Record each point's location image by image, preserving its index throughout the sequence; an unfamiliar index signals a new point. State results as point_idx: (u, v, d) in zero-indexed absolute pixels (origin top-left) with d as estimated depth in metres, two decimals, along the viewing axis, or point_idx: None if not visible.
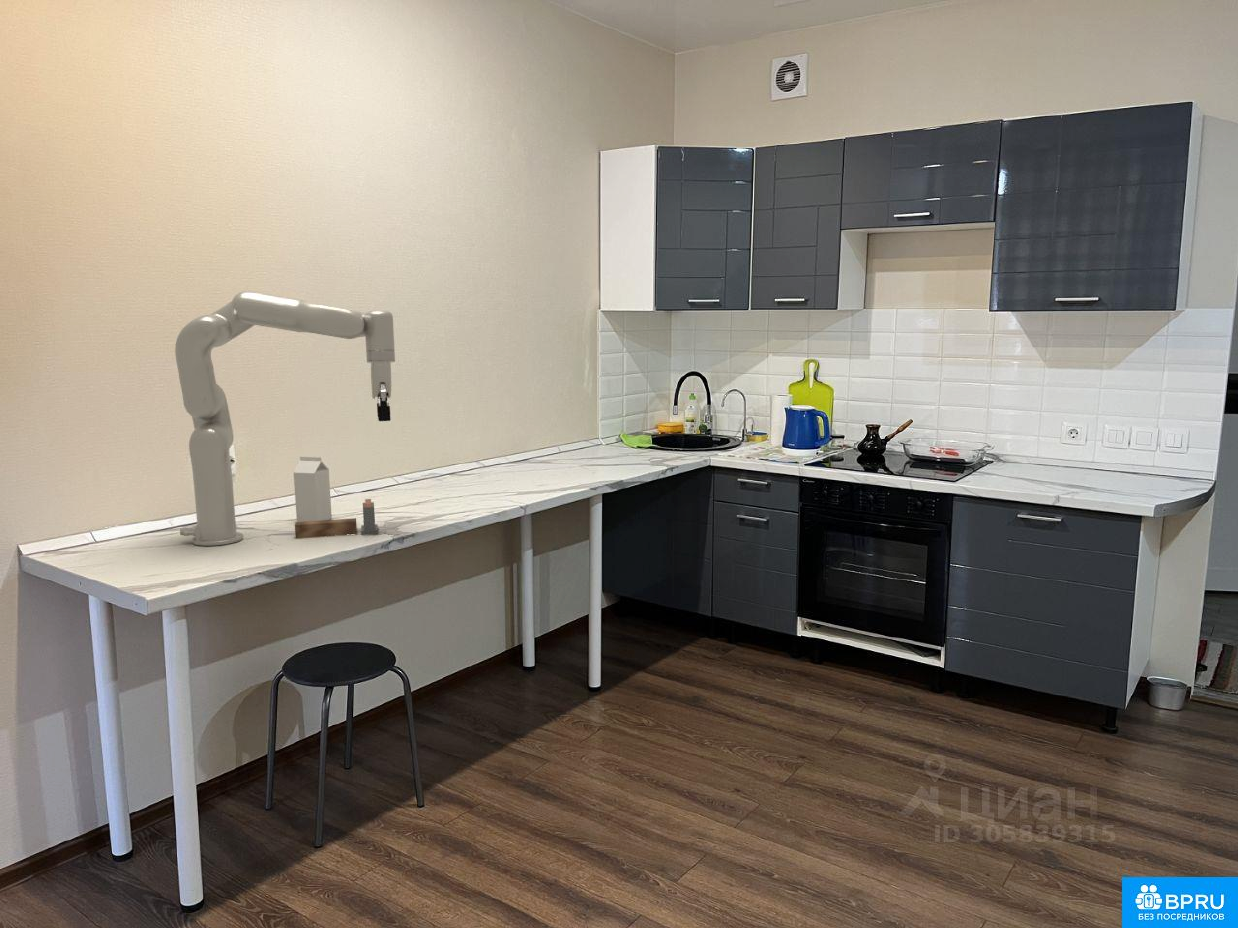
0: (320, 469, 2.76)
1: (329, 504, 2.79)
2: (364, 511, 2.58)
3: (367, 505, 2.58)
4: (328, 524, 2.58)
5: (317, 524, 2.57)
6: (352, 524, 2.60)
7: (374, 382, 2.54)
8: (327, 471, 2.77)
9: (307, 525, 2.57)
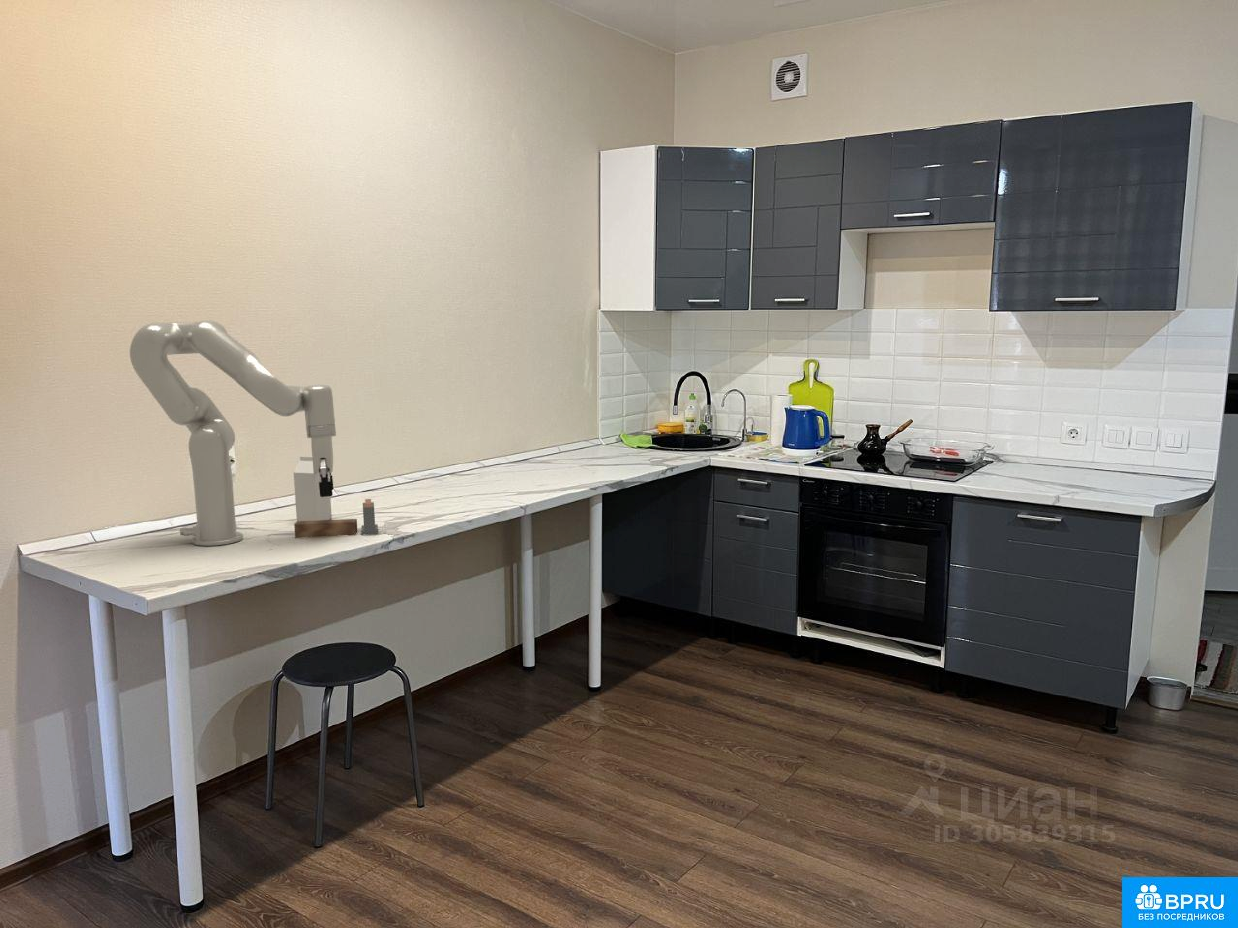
0: None
1: (329, 504, 2.79)
2: (364, 511, 2.58)
3: (367, 505, 2.58)
4: (327, 524, 2.58)
5: (316, 524, 2.57)
6: (351, 525, 2.59)
7: (314, 458, 2.52)
8: None
9: (306, 525, 2.57)
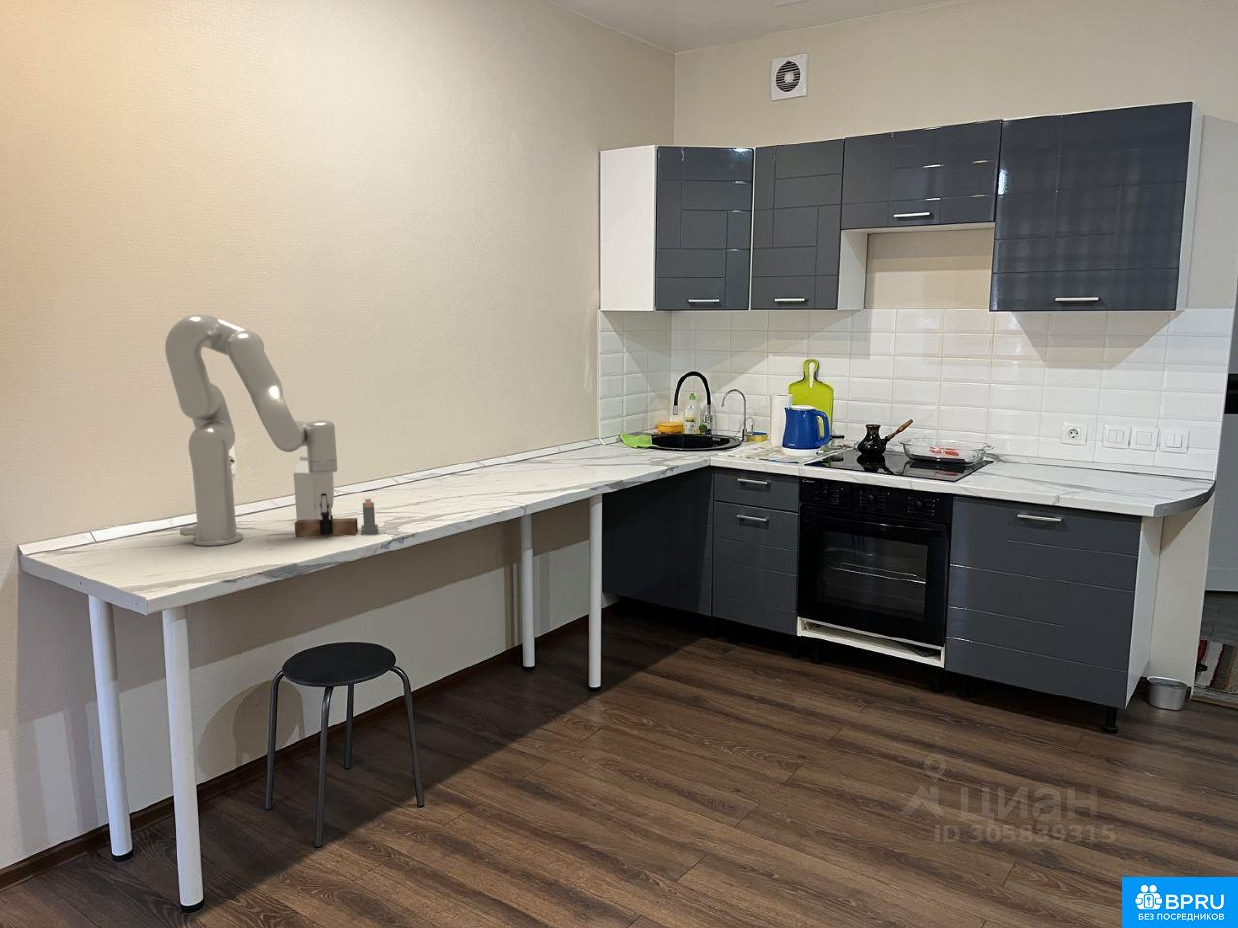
0: None
1: None
2: (364, 511, 2.58)
3: (367, 505, 2.58)
4: None
5: (316, 523, 2.57)
6: (351, 524, 2.58)
7: (315, 494, 2.53)
8: None
9: (306, 523, 2.57)
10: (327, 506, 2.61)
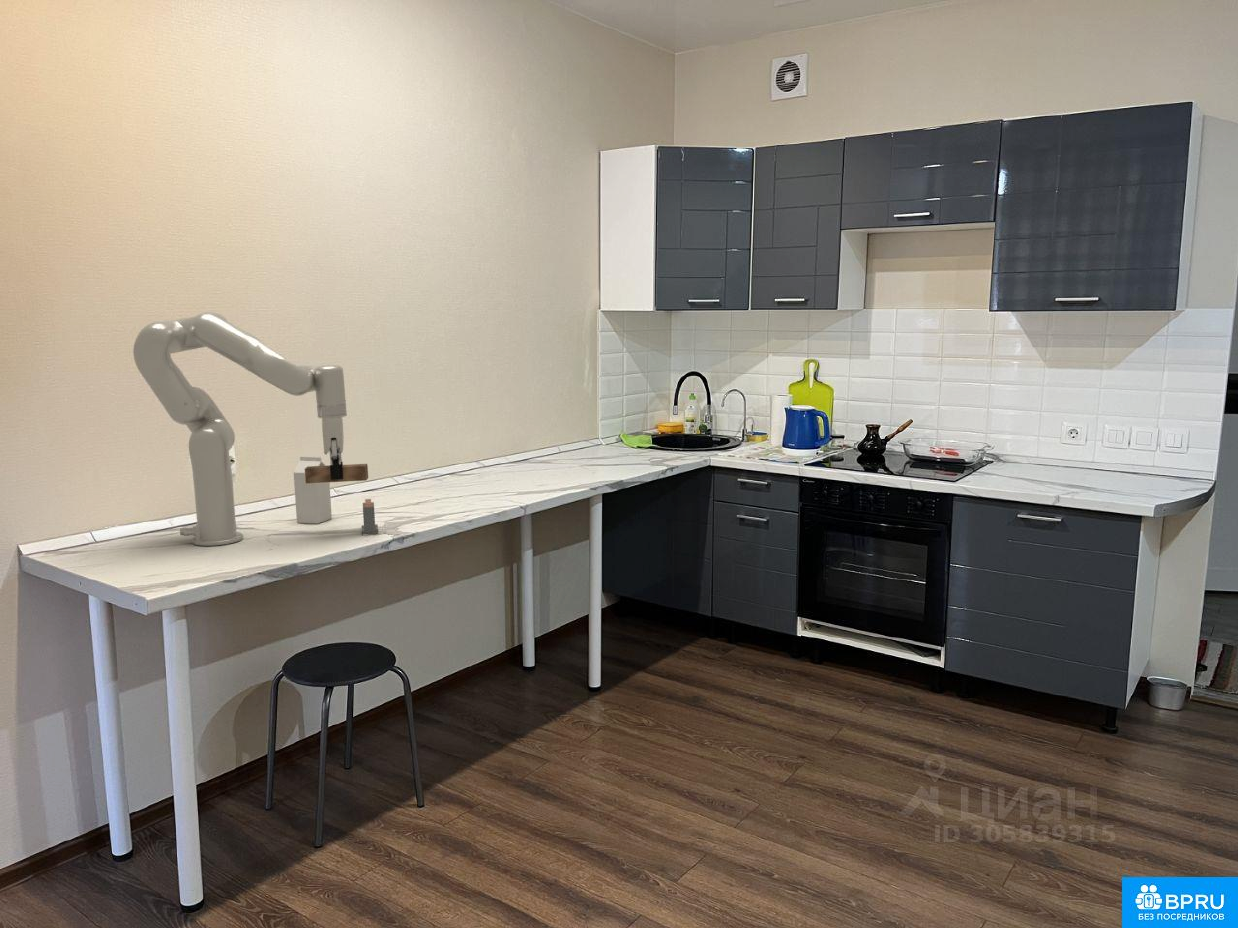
0: None
1: (329, 504, 2.79)
2: (364, 511, 2.58)
3: (367, 505, 2.58)
4: None
5: (327, 468, 2.56)
6: (361, 469, 2.57)
7: (325, 438, 2.52)
8: None
9: (317, 469, 2.56)
10: (337, 452, 2.60)
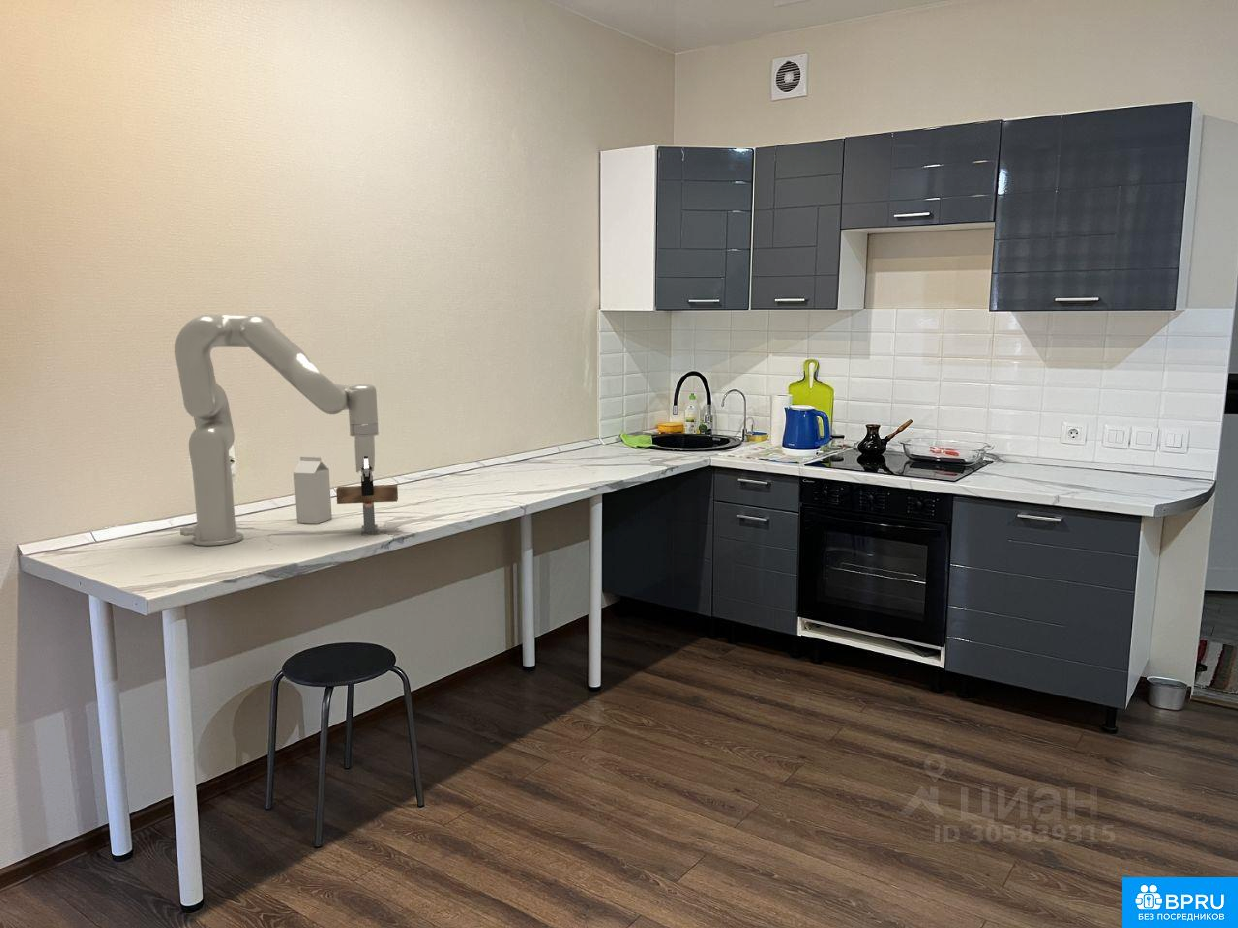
0: (320, 469, 2.76)
1: (329, 504, 2.79)
2: (364, 511, 2.58)
3: (367, 505, 2.58)
4: None
5: (358, 489, 2.59)
6: (392, 490, 2.60)
7: (357, 456, 2.54)
8: (327, 471, 2.77)
9: (348, 490, 2.59)
10: None
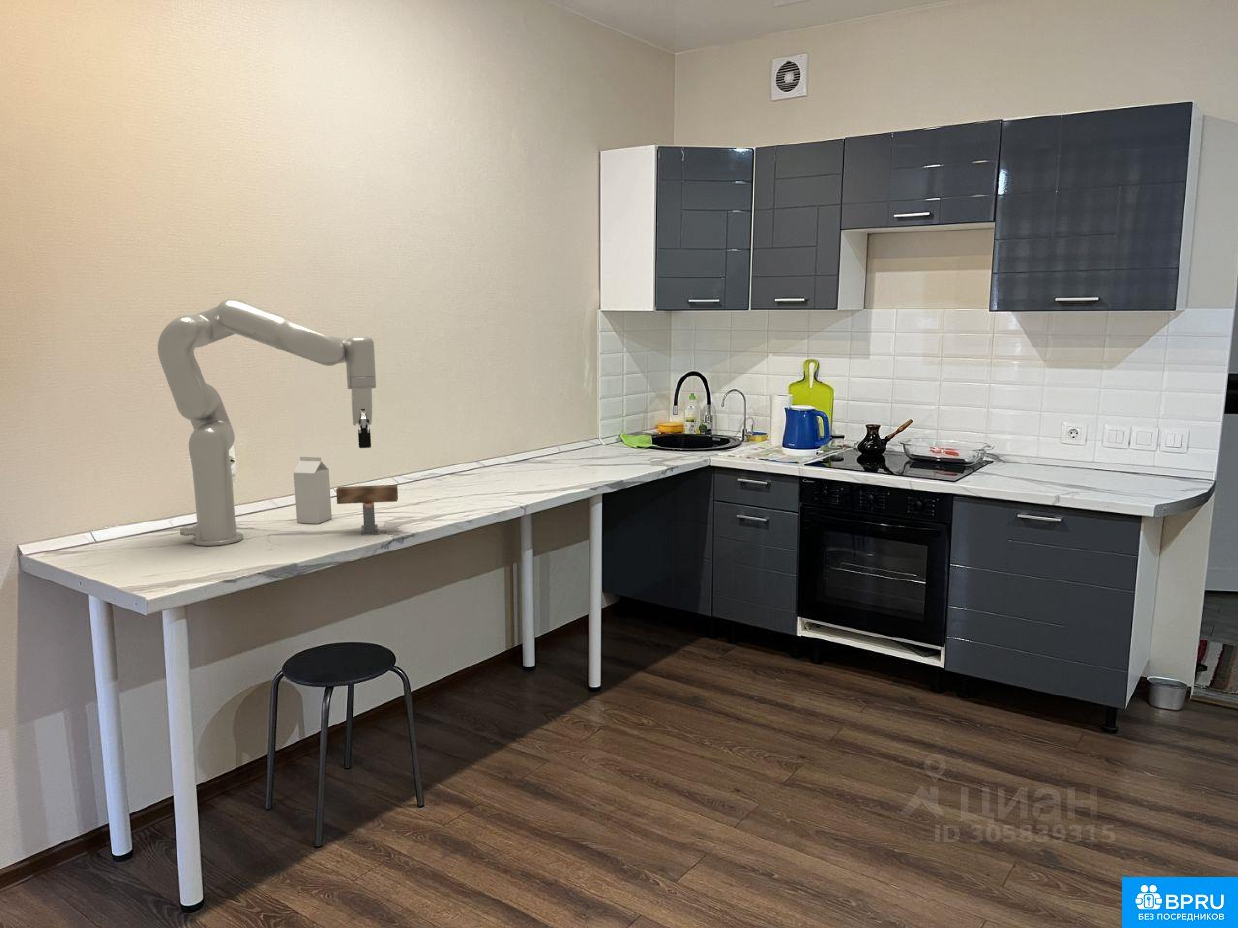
0: (320, 469, 2.76)
1: (329, 504, 2.79)
2: (364, 511, 2.58)
3: (367, 505, 2.58)
4: (369, 489, 2.59)
5: (358, 489, 2.59)
6: (392, 490, 2.60)
7: (354, 409, 2.52)
8: (327, 471, 2.77)
9: (348, 490, 2.59)
10: None
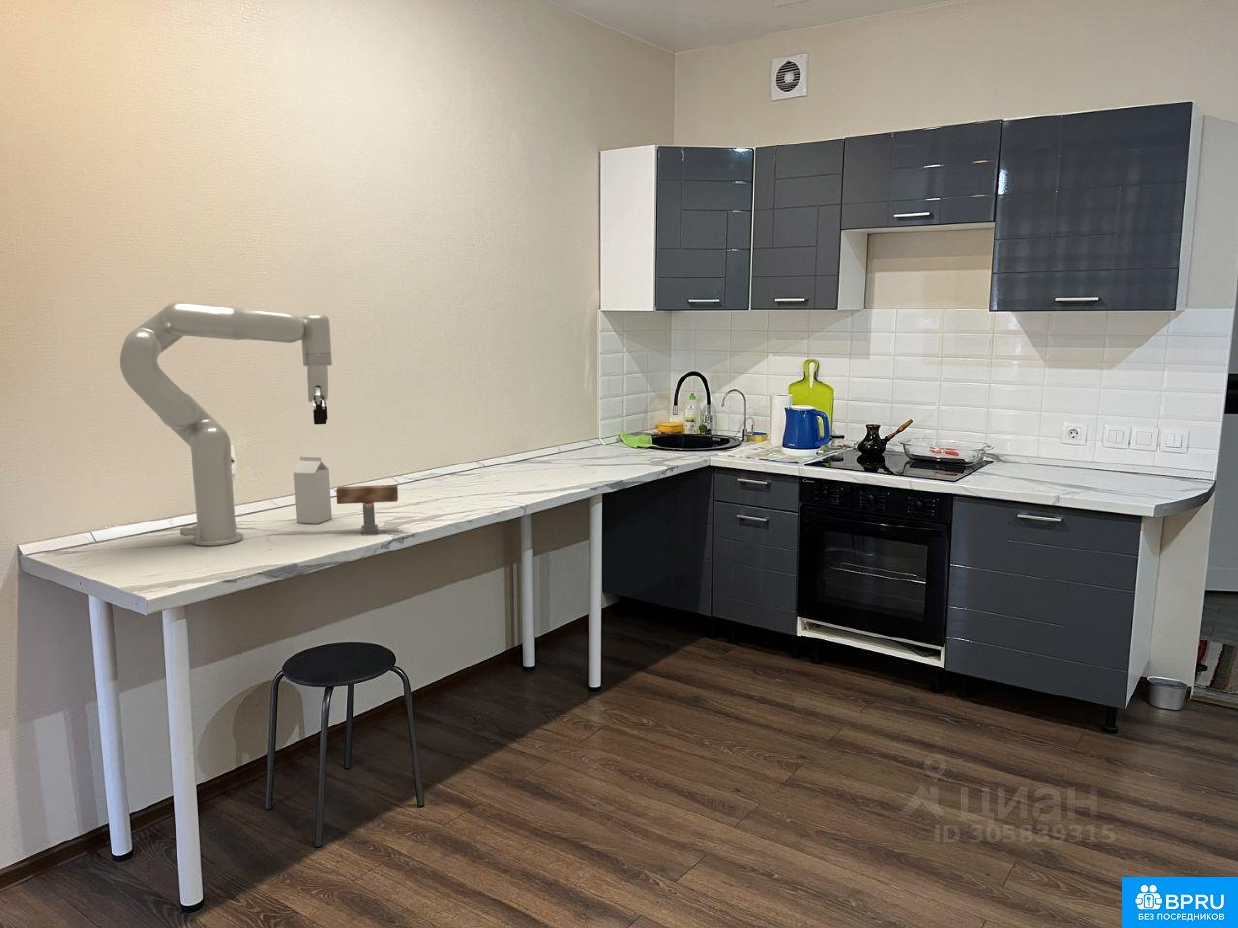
0: (320, 469, 2.76)
1: (329, 504, 2.79)
2: (364, 511, 2.58)
3: (367, 505, 2.58)
4: (369, 489, 2.59)
5: (358, 489, 2.59)
6: (392, 490, 2.60)
7: (309, 385, 2.56)
8: (327, 471, 2.77)
9: (348, 490, 2.59)
10: None
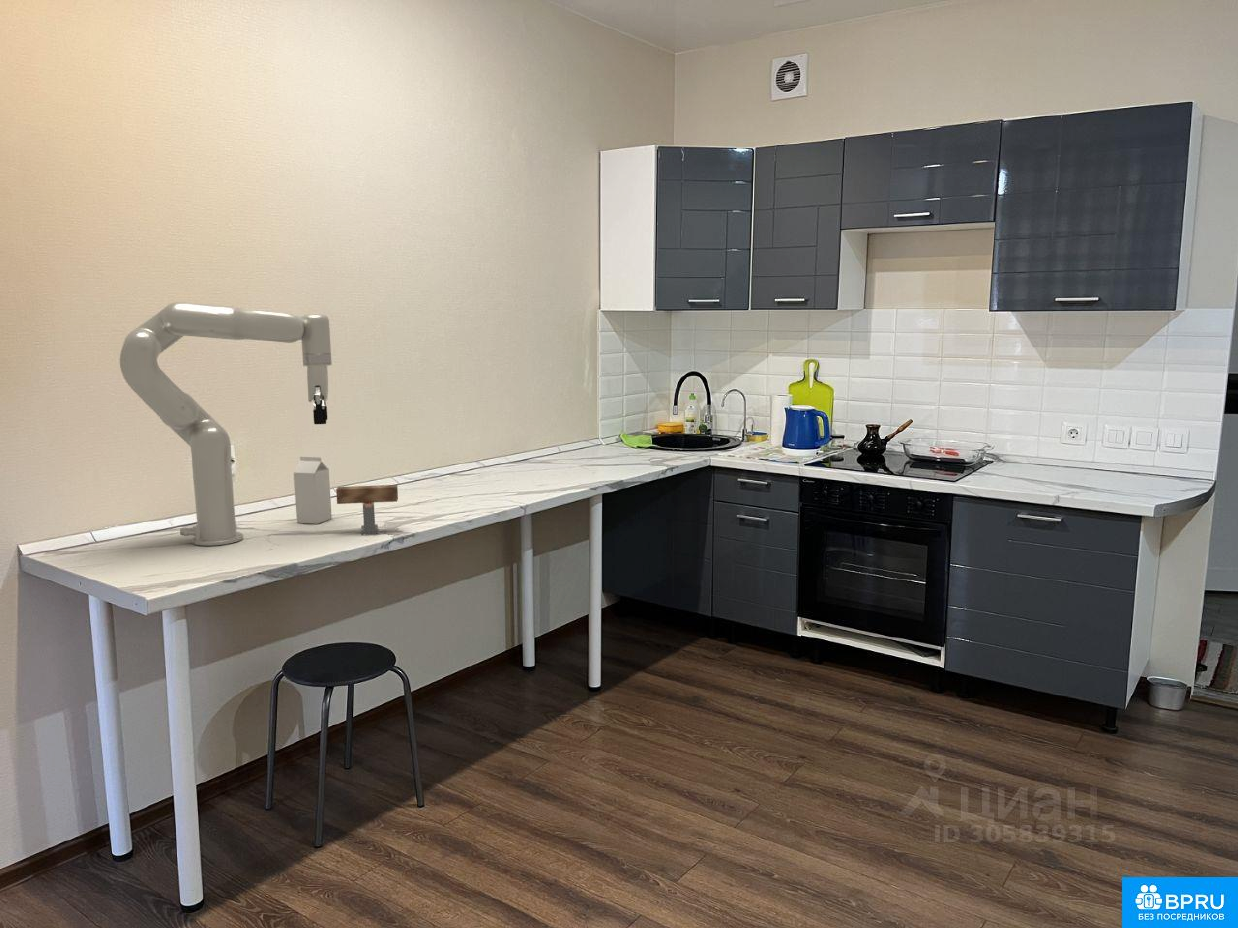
0: (320, 469, 2.76)
1: (329, 504, 2.79)
2: (364, 511, 2.58)
3: (367, 505, 2.58)
4: (369, 489, 2.59)
5: (358, 489, 2.59)
6: (392, 490, 2.60)
7: (309, 385, 2.56)
8: (327, 471, 2.77)
9: (348, 490, 2.59)
10: (321, 396, 2.66)
